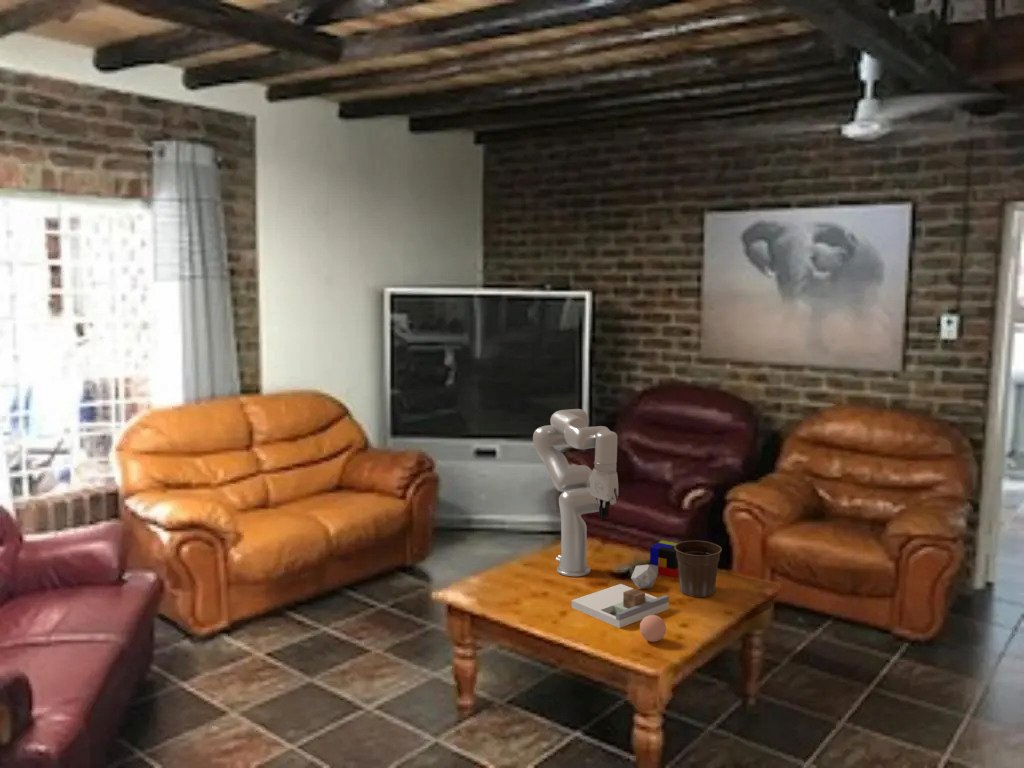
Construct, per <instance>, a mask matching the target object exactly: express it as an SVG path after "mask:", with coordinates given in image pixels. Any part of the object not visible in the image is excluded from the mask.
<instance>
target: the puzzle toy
mask: <svg viewBox="0 0 1024 768" xmlns="http://www.w3.org/2000/svg"><path fill="white" fill-rule="evenodd" d="M676 544H677V543H676V542H672V541H667V540H660V541H659V542H657V543H655V544H653V545H651V546H649V547H650V549H649V551H650V552H649V565H650V566H651V568H652V569H653V570H654V572H655V573H656V574H657V576H658V575H659V576H662V577H663V576H664V577H668V578H672V579H675V578H677V577H679V570H678V560H677V557H676V550H675V548H674V546H675V545H676Z"/></svg>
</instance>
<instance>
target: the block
mask: <svg viewBox="0 0 1024 768" xmlns="http://www.w3.org/2000/svg"><path fill="white" fill-rule="evenodd" d="M645 593H646V592H644V591H641V590H640V589H639V590H638V589H636V588H633V589H631V590H628V591H625V592H623V607H625V608H628V609H629V608H631V607H634V606H637V605H640V604H642V603H645Z"/></svg>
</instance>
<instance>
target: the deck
mask: <svg viewBox="0 0 1024 768" xmlns="http://www.w3.org/2000/svg"><path fill="white" fill-rule="evenodd" d="M631 589H634V588H633V587H630V586H627V585H625V584H622V583H619V584H617V585H613V586H610V587H607V588H604V589H601V590H598V591H596V592H592V593H589V594H586V595H583V596H581V597H578V598H575V599H571V601H570V602H571V606H570V607H571V609H573V610H576V611H579V612H581V613H583V614H586V615H588V616H591V617H593V618H595V619H597V620H599V621H602V622H604V623H607V624H609V625H611V626H614V627H615V628H618V629H620V628H623V627H625V626H628V625H630V624H631V625H632V624H634V623H636V622H639V621H642V620H643V619H644V618H645V617H646V616H649V615H658V614H661V613H662V612H664V611H668V610H669V609H670V596H669V595H667V594H664V595H661V596H659V597H656V596H654V595H651V594H649V593H646V592H644V593H645V603H642V604H640V605H637V606H634V607H631V608H629V609H628V608H625V607H623V592H625V591H628V590H631Z"/></svg>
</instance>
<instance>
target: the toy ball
mask: <svg viewBox="0 0 1024 768" xmlns="http://www.w3.org/2000/svg"><path fill="white" fill-rule="evenodd" d="M639 631H640V634H641V636H642V638H644V639H645V640H646V641H648V642H651V643H656V642H659V641H660V640H662V639H663V638H664V637H665V636H666V632H667V625H666V622H665V621H664V619H663V618H661V617H660V616H659V615H657V614H655V615H649V616H646V617H645V618H644V619H642V620H640V623H639Z"/></svg>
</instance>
